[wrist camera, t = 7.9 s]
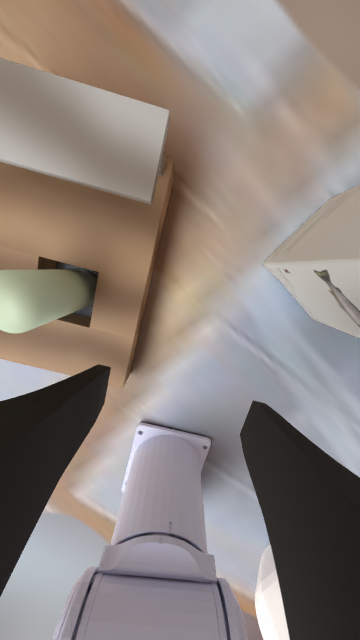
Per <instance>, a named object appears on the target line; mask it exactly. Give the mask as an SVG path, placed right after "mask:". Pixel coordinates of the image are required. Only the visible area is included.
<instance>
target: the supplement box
mask: <svg viewBox="0 0 360 640" xmlns="http://www.w3.org/2000/svg"><path fill="white" fill-rule="evenodd" d="M263 265H264V266H265V267H266V268H267V269H268V270H269V271H270V272H271V273H272V274H273V275H274V276H275V277H276V278H277V279H278V280H279V281H280V282H281V283H282V284H283V285H284V287H285V288H286V289H287V290H288V291H289V292H290V293H291V294H292V296H293V297H294V298H295V299H296V300H297V301H298V303H299V304H300V305H301V306H302V307H303V308H304V310H305V311H306V312H307V313H308V315H309V316H310V317H311V318H312V319H313V320H316V321H318V322H321V323H323V324H325V325H328V326H330V327H333V328H335V329H338V330H340V331H343V332H345V333H348V334H350V335H353V336H355V337H358V338H360V185H359V186H357V187H354V188H352V189H350V190H348V191H346V192H344V193H341V194H339V195H337V196H335V197H333V198H331V199H329V200H328V201H327V202H326V203H325V204H324V205H323V206H322V207H321V208H320V209H319V210H318V211H317V212H316V213H315V214H313V215H312V216H311V217H310V218H309V219H308V220H307V221H306V222H305V223H304V224H303V225H302V226H301V227H300V228H299V229H298V230H297V231H296V232H295V233H294V234H292V235H291V236H290V237H289V238H288V239H287V240H286V241H285V242H284V243H283V244H282V245H281V246H280V247H279V248H278V249H277V250H276V251H275V252H274V253H273V254H272V255H271V256H269V257H268V258H267V259H266V260H265V261H264V263H263Z"/></svg>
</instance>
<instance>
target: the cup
mask: <svg viewBox="0 0 360 640" xmlns="http://www.w3.org/2000/svg"><path fill="white" fill-rule="evenodd" d="M255 607H256V613H257V618H258V623H259V626H260V630H261V633H262V636H263V639H264V640H290V638H289V633H288V628H287V622H286V617H285V612H284V606H283V601H282V596H281V591H280V586H279V581H278V577H277V572H276V567H275V562H274V558H273V553H272V549H271V545H270V544H269V545H268V546H267V547H266V548H265V549H264V552H263V554H262V557H261V561H260V567H259V574H258V580H257V586H256V592H255Z"/></svg>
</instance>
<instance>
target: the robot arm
mask: <svg viewBox="0 0 360 640" xmlns="http://www.w3.org/2000/svg"><path fill="white" fill-rule="evenodd" d="M110 371H111V367H109V366H104V365H100V364H98V365H96V366H93V367H91V368H89V369H87V370H85V371H83V372H80V373H78V374H76V375H74V376H72V377H69V378H67V379H65V380H62V381H60V382H57V383H55V384H52V385H50V386H47V387H45V388H42V389H40V390H37V391H34V392H31V393H28V394H25V395H21V396H18V397H15V398H11V399H8V400H4V401H0V596H1V594H2V592H3V590H4V588H5V586H6V584H7V582H8V580H9V578H10V576H11V573H12V572H13V569H14V568H15V565H16V563H17V562H18V560H19V558H20V555H21V553H22V551H23V549H24V547H25V545H26V543H27V541H28V539H29V537H30V535H31V534H32V532H33V529H34V528H35V526H36V523H37V522H38V520H39V518H40V516H41V514H42V512H43V510H44V508H45V506H46V504H47V502H48V500H49V498H50V496H51V495H52V493H53V491H54V489H55V487H56V485H57V483H58V481H59V480H60V478H61V476H62V474H63V473H64V471H65V469H66V468H67V466H68V465H69V463H70V461H71V460H72V458H73V457H74V455H75V453H76V452H77V450H78V449H79V447H80V446H81V444H82V442H83V441H84V439H85V438H86V436H87V435H88V433H89V431H90V430H91V428H92V427H93V425H94V423H95V421H96V419H97V417H98V415H99V413H100V411H101V409H102V407H103V405H104V402H105V397H106V391H107V386H108V381H109V376H110ZM139 431H142V432H139ZM240 437H241V442H242V448H243V453H244V457H245V460H246V463H247V467H248V470H249V473H250V476H251V479H252V482H253V485H254V488H255V491H256V495H257V498H258V501H259V504H260V507H261V510H262V513H263V517H264V520H265V524H266V528H267V532H268V536H269V541H270V545H271V549H272V553H273V558H274V562H275V567H276V572H277V577H278V581H279V586H280V591H281V596H282V601H283V606H284V612H285V617H286V622H287V628H288V633H289V638H290V640H360V478H359V477H358V476H357V475H355V474H354V473H352V472H351V471H349V470H348V469H347V468H345V467H344V466H342V465H341V464H340V463H338V462H337V461H336V460H334V459H333V458H332V457H330V456H329V455H328V454H326V453H325V452H324V451H323V450H321V449H320V448H319V447H317V446H316V445H315V444H314V443H312V442H311V441H310V440H309V439H308V438H306V437H305V436H304V435H303V434H302V433H300V432H299V431H298V430H297V429H296V428H294V427H293V426H292V425H291V424H290V423H289V422H287V421H286V420H285V419H284V418H283V417H282V416H280V415H279V414H278V413H277V412H276V411H274V410H273V409H272V408H271V407H269V406H268V405H266V404H265V403H261V402H257V401H253V402H252V405H251V407H250V410H249V412H248V415H247V418H246V420H245V423H244V425H243V428H242V430H241V433H240ZM204 446H205V447H204ZM210 446H211V440H210V439H209V438H207V437H203V436H199V435H194V434H190V433H186V432H181V431H177V430H173V429H168V428H164V427H160V426H155V425H151V424H147V423H139V424H138V426H137V429H136V433H135V437H134V441H133V445H132V449H131V453H130V457H129V461H128V465H127V469H126V473H125V477H124V481H123V485H122V489H121V490H122V492H123V493H124V495H123V499H122V503H121V506H120V510H119V514H118V518H117V522H116V526H115V529H114V533H113V537H112V541H111V545H106V546H105V547H104V551H103V554H102V558H101V562H100V565H99V568H98V567H89V568H88V569H87V570H86V571H85V573H84V574H83V576H82V577H81V578H80V579H79V580H78V581H77V582H76V584H75V585H74V586H73V588H72V590H71V592H70V594H69V596H68V598H67V601H66V603H65V605H64V608H63V610H62V613H61V616H60V618H59V621H58V624H57V627H56V629H55V633H54V635H53V638H52V640H248V638H247V633H246V628H245V624H244V620H243V615H242V612H241V608H240V605H239V603H238V600H237V598H236V596H235V595H234V593H233V591H232V590H231V588H230V585H229V583H228V582H227V581H226V579H223V578H216V569H215V560H214V556H213V555H210V554H208V553H207V542H206V530H205V519H204V508H203V496H202V485H201V474H200V473H201V471H202V468H203V465H204V462H205V460H206V457H207V454H208V451H209V448H210Z"/></svg>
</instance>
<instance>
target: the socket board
mask: <svg viewBox="0 0 360 640" xmlns="http://www.w3.org/2000/svg"><path fill="white" fill-rule="evenodd" d="M169 122H170V111H169V110H167V109H164V108H161V107H158V106H154V105H151V104H148V103H145V102H141V101H138V100H135V99H132V98H128V97H125V96H122V95H119V94H116V93H112V92H109V91H106V90H103V89H99V88H96V87H93V86H90V85H87V84H83V83H80V82H77V81H74V80H70V79H67V78H64V77H61V76H57V75H54V74H51V73H48V72H45V71H41V70H38V69H35V68H32V67H28V66H25V65H22V64H19V63H15V62H12V61H9V60H6V59H3V58H0V270H47V269H57V261H59V262H63V263H66V264H70V265H74V266H78V267H81V268H85V269H89V270H93V271H97V272H99V273H98V280H97V286H96V292H95V298H94V304H93V310H92V316H91V318H89V317H85V316H81V315H78V314H74V313H71V314H68V315H66V316H63V317H61V318H58V319H56V320H54V321H51V322H49V323H46V324H44V325H41V326H39V327H36V328H34V329H31V330H29V331H26V332H24V333H8V332H5V331H2V330H0V359H4V360H8V361H12V362H16V363H21V364H25V365H29V366H33V367H37V368H42V369H46V370H50V371H54V372H58V373H63V374H67V375H71V376H74V375H76V374H78V373H80V372H83V371H85V370H87V369H89V368H91V367H93V366H96V365H98V364H100V365H104V366H109V367H111V371H110V376H109V381H108V384H109V385H113V386H117V387H121V388H123V387H124V385H125V383H126V381H127V379H128V377H129V375H130V371H131V367H132V362H133V358H134V353H135V349H136V345H137V340H138V336H139V331H140V327H141V322H142V318H143V314H144V309H145V305H146V300H147V296H148V291H149V287H150V283H151V278H152V274H153V269H154V265H155V260H156V256H157V252H158V247H159V243H160V238H161V234H162V229H163V225H164V221H165V216H166V212H167V207H168V203H169V198H170V194H171V190H172V185H173V181H174V176H175V172H174V160H173V159H171V158H168V157H165V153H164V146H165V141H166V137H167V132H168V127H169Z"/></svg>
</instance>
